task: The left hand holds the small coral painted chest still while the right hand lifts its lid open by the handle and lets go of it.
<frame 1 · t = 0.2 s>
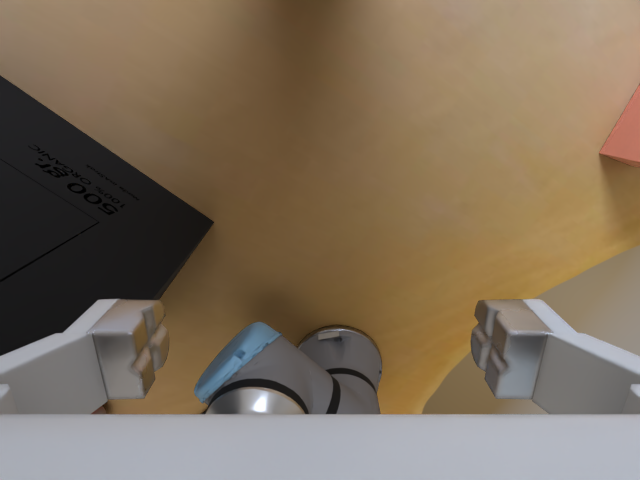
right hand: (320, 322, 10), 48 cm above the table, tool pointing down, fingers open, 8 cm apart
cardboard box: (69, 199, 59), on the table
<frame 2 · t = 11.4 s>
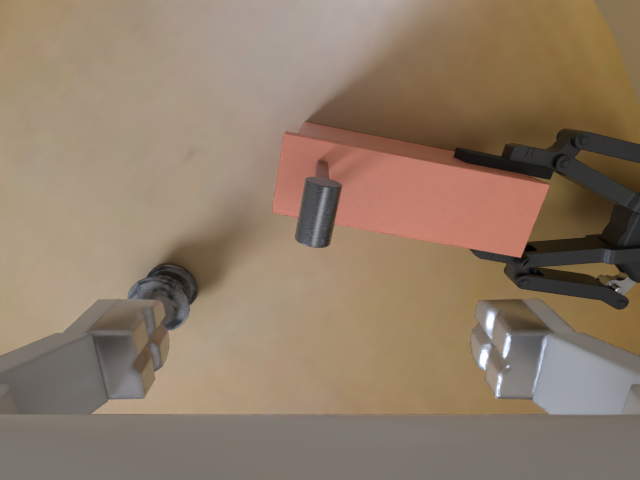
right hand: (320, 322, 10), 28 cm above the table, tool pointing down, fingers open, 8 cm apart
left hand: (449, 193, 31), fingers closed on chest, 5 cm apart
salt shaker: (172, 286, 41), on the table
chest: (388, 168, 37), on the table, touching left hand
lid: (421, 213, 23), point 14 cm above the table, hinge at 0.0°
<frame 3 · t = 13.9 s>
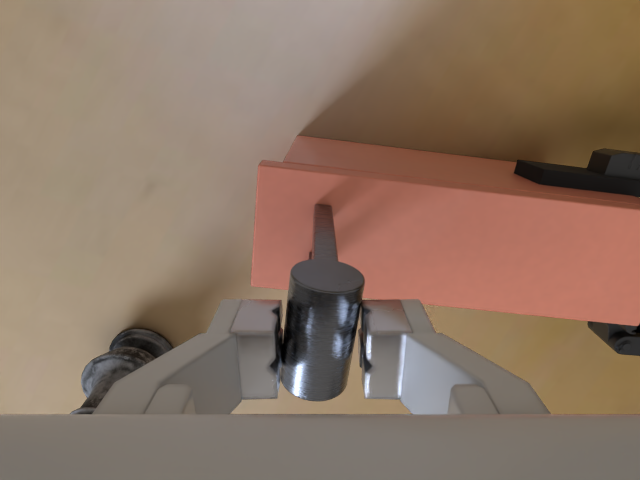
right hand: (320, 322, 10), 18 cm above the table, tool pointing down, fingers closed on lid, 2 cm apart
salt shaker: (143, 355, 32), on the table
chest: (415, 189, 27), on the table, touching left hand
lid: (496, 288, 14), point 15 cm above the table, hinge at 0.6°, touching right hand
when the left hand's fingers open (7 cm above the table, at t = 20.8 s): chest stays where it is, on the table.
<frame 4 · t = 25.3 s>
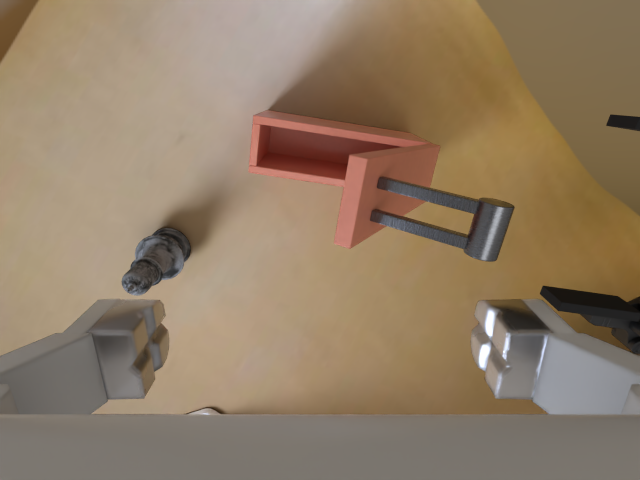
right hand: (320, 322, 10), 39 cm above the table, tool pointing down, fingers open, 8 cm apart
salt shaker: (170, 246, 51), on the table
chest: (335, 144, 47), on the table
lid: (448, 196, 28), point 20 cm above the table, hinge at 61.1°
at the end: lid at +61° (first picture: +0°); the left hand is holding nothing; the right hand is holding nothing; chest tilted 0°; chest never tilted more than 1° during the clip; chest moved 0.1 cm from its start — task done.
